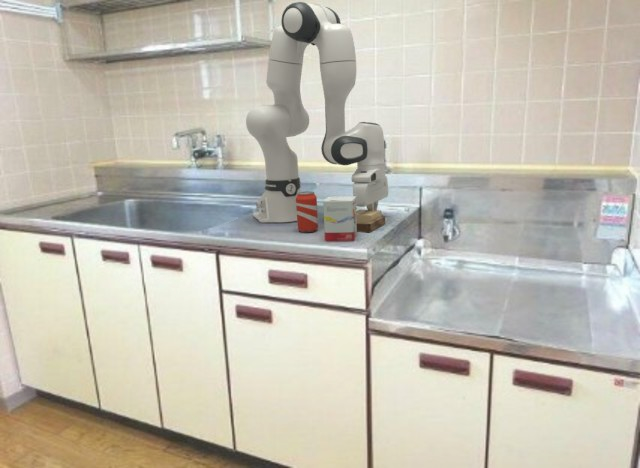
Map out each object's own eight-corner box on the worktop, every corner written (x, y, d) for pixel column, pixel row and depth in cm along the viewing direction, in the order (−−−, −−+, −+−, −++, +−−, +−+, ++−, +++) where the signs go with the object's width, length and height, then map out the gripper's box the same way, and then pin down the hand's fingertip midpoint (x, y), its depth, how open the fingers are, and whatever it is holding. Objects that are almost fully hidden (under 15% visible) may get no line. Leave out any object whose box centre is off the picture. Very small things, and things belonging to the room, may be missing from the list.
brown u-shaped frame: (351, 221, 165) (351, 214, 164) (385, 224, 159) (385, 216, 158) (334, 230, 155) (333, 222, 154) (369, 232, 149) (369, 224, 148)
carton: (360, 222, 165) (359, 209, 164) (381, 224, 161) (380, 210, 160) (349, 228, 158) (349, 214, 157) (371, 229, 154) (371, 215, 153)
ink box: (354, 241, 140) (352, 199, 137) (324, 241, 142) (322, 200, 139) (358, 234, 148) (356, 194, 145) (329, 234, 150) (327, 195, 147)
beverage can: (322, 230, 155) (320, 192, 152) (305, 234, 151) (303, 195, 149) (310, 227, 160) (308, 190, 157) (294, 231, 156) (291, 193, 153)
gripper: (375, 169, 171) (376, 209, 174) (348, 177, 154) (350, 221, 157) (392, 169, 168) (393, 209, 171) (367, 177, 150) (369, 222, 154)
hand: (372, 215), depth 164 cm, fingers closed
